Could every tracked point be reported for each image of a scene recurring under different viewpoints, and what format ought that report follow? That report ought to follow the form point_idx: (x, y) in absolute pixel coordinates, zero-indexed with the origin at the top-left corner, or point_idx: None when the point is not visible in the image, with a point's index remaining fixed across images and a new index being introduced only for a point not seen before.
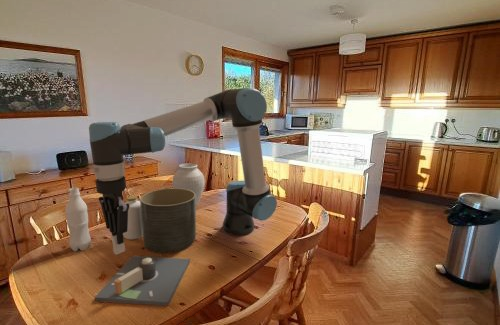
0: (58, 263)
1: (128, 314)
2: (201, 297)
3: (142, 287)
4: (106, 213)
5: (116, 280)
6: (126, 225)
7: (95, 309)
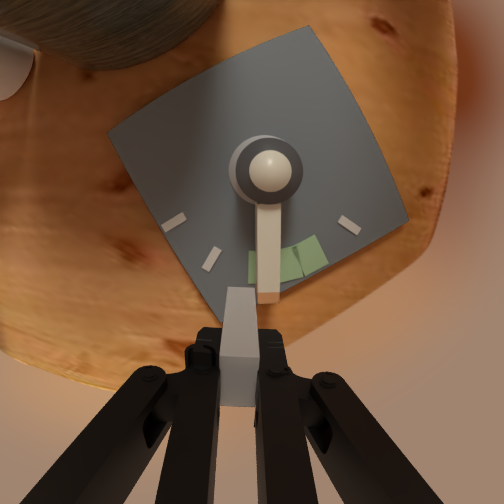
0: (3, 288)
1: (341, 293)
2: (446, 150)
3: (302, 220)
4: (119, 497)
5: (264, 299)
6: (368, 420)
7: None
